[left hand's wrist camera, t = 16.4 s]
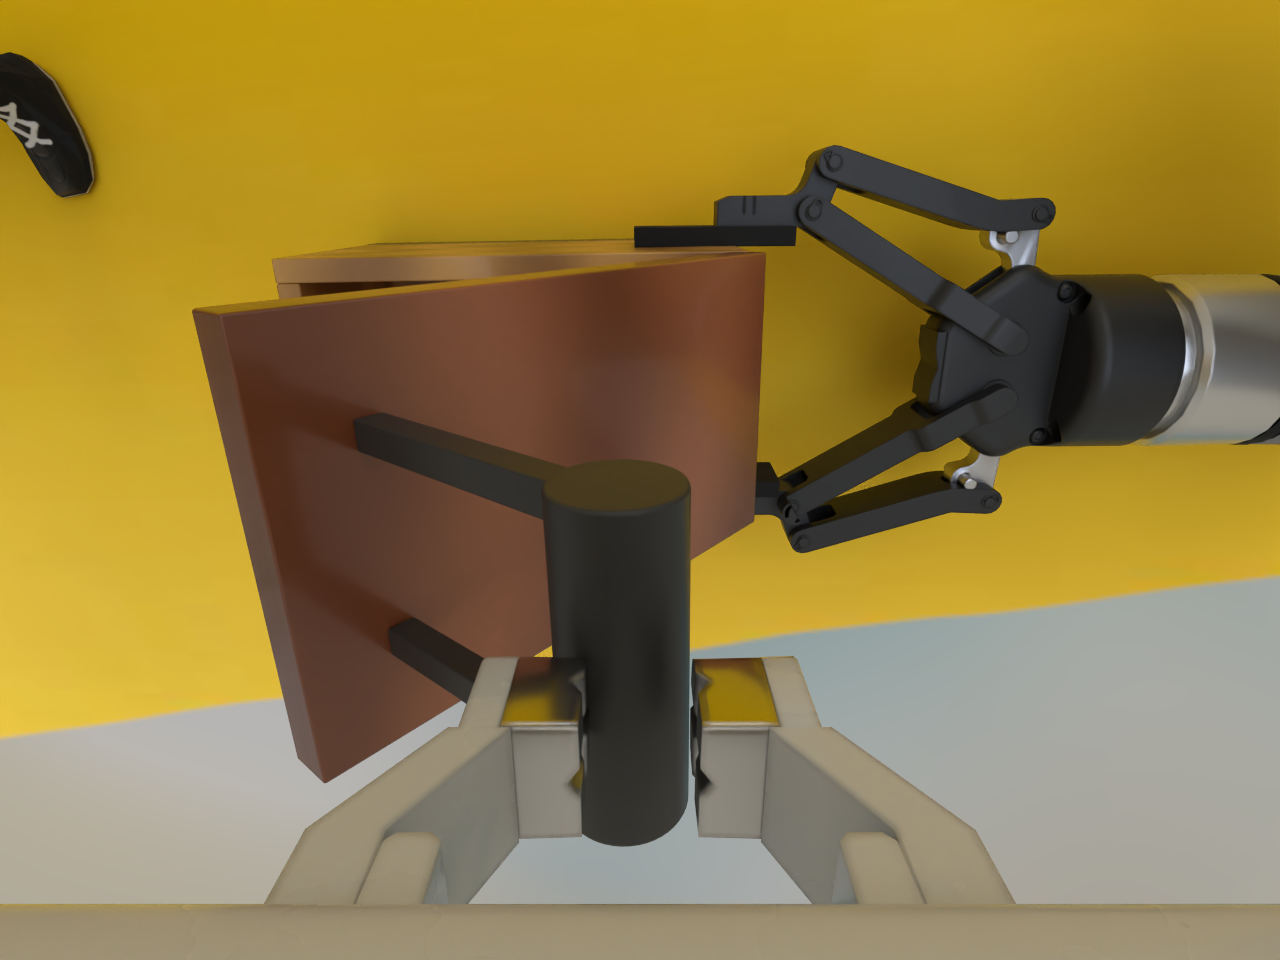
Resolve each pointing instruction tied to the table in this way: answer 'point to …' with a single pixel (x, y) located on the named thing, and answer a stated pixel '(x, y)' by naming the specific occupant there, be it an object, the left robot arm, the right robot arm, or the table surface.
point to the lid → (494, 497)
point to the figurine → (45, 126)
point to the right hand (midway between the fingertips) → (635, 365)
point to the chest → (455, 262)
